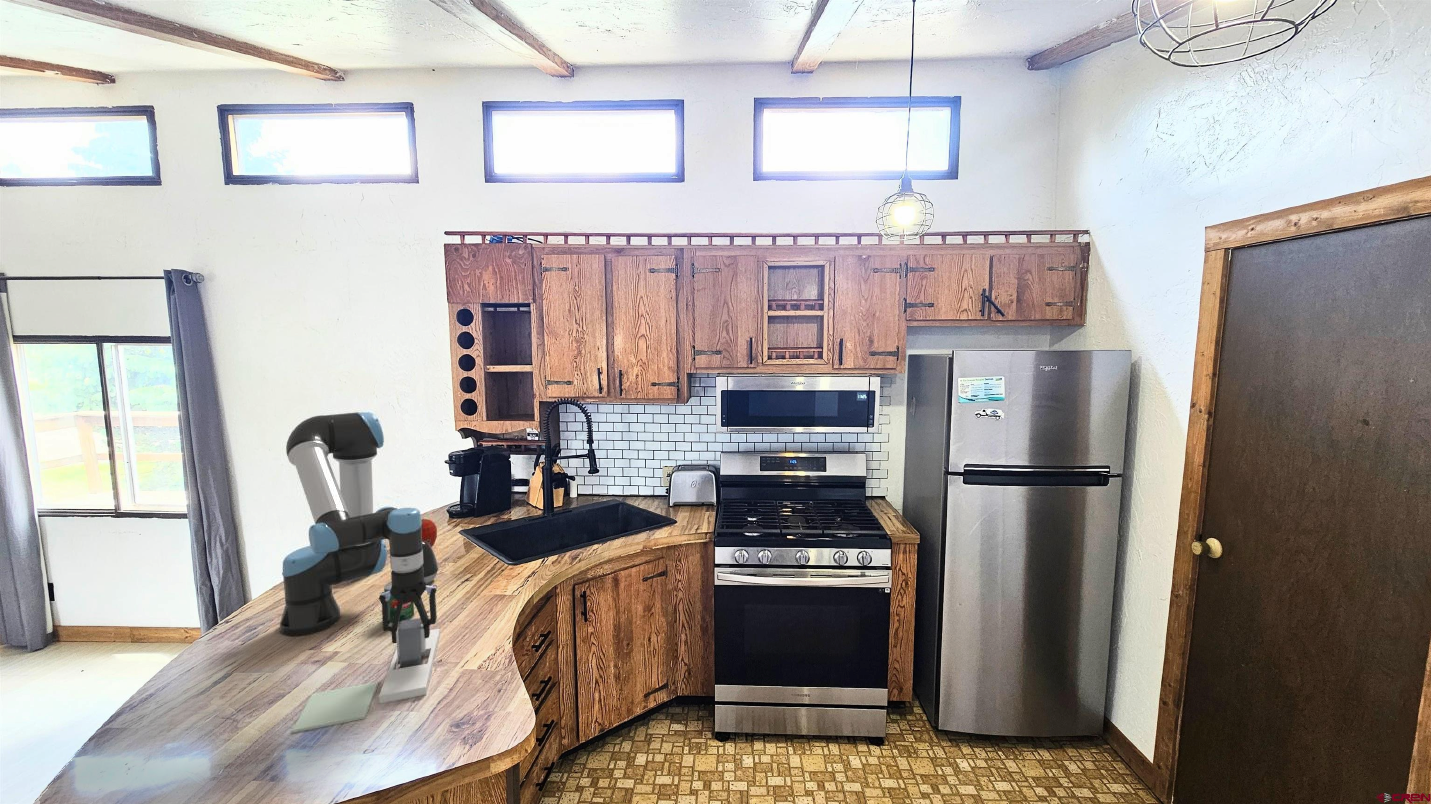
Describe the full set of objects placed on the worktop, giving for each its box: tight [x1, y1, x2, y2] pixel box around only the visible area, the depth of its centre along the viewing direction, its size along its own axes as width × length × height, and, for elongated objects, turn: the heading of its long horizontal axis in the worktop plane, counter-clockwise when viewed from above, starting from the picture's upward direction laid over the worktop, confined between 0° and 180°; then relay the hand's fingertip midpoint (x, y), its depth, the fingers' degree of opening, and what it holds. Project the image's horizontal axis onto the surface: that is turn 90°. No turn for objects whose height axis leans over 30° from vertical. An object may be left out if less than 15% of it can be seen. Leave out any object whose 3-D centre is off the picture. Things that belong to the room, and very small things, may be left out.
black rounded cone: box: [422, 539, 439, 584], centre depth 201 cm, size 10×10×15 cm
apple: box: [421, 518, 438, 548], centre depth 232 cm, size 10×10×14 cm
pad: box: [291, 681, 379, 734], centre depth 132 cm, size 14×14×1 cm
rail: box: [378, 628, 441, 704], centre depth 149 cm, size 10×30×2 cm, turn 20°
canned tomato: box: [383, 580, 415, 624], centre depth 175 cm, size 8×8×11 cm
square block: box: [398, 617, 425, 669], centre depth 149 cm, size 5×5×11 cm
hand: (411, 651), depth 149 cm, fingers closed on square block, 5 cm apart
